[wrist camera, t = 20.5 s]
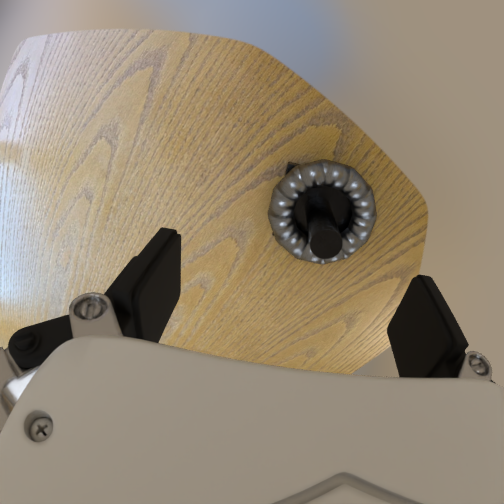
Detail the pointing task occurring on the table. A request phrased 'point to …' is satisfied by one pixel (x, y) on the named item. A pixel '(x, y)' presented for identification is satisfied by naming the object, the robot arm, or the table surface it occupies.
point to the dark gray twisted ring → (315, 177)
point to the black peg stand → (322, 218)
